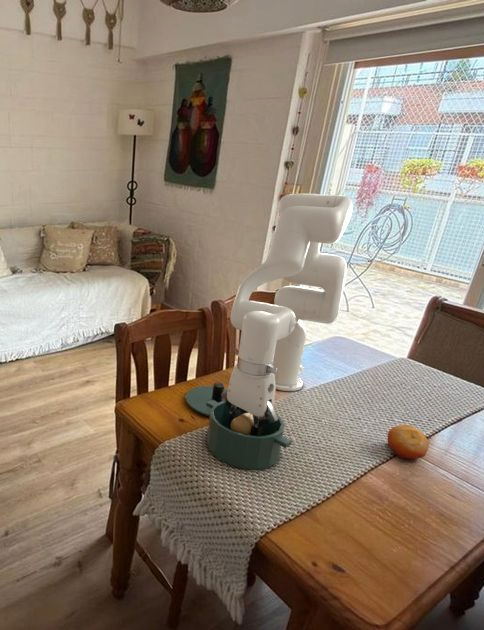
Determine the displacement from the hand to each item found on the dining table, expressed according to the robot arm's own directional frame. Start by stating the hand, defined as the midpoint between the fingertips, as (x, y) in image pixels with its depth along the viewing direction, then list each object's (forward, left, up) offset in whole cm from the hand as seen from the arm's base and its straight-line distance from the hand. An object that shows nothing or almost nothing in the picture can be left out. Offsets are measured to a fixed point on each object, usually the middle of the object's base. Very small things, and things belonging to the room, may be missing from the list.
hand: (244, 432), depth 106 cm
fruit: (-30, +24, -5) cm, 39 cm away
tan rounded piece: (0, 0, 0) cm, 0 cm away
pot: (0, 0, -4) cm, 4 cm away
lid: (-12, -17, -4) cm, 21 cm away
